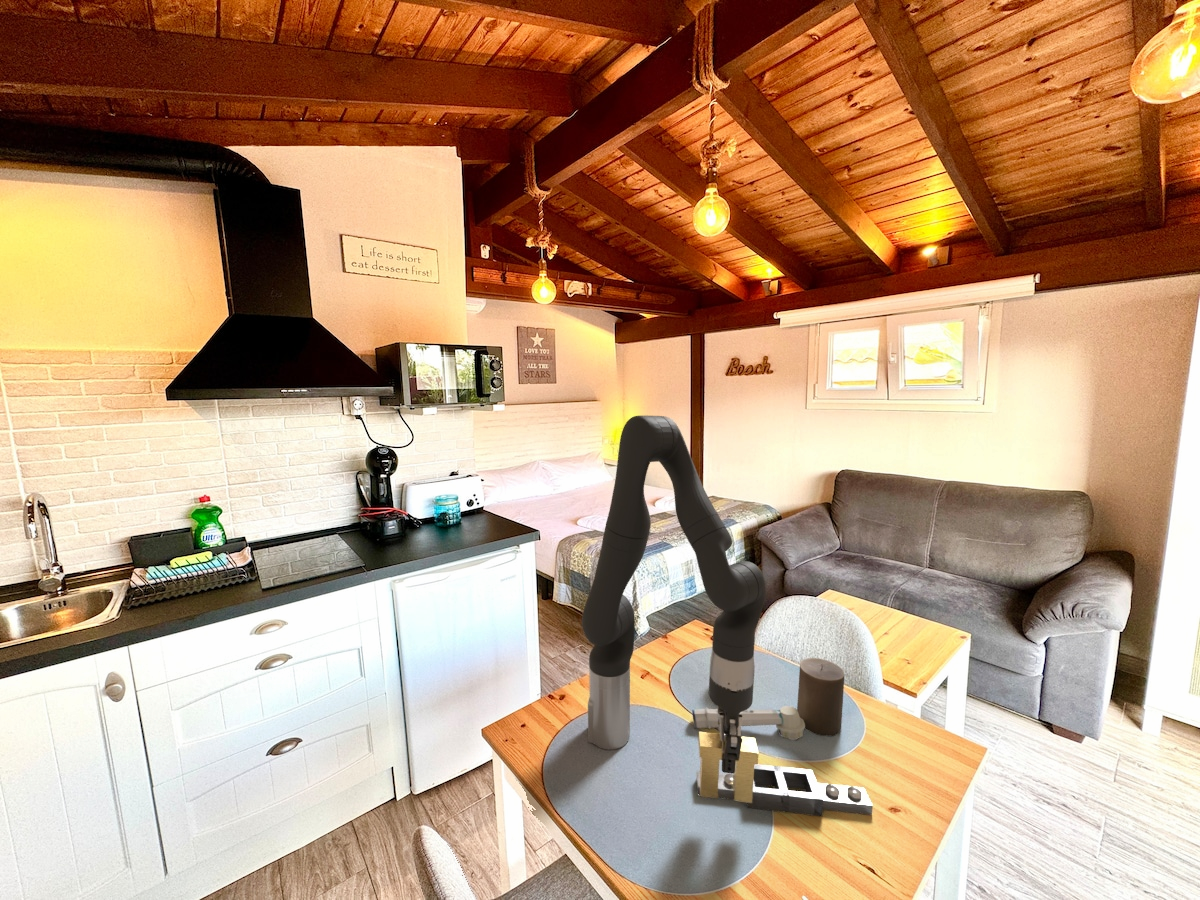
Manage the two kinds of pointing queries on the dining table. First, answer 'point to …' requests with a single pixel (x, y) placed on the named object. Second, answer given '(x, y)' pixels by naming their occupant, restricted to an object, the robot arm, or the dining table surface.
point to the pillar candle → (820, 696)
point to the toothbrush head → (757, 720)
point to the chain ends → (796, 792)
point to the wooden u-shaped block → (710, 767)
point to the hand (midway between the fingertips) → (726, 761)
